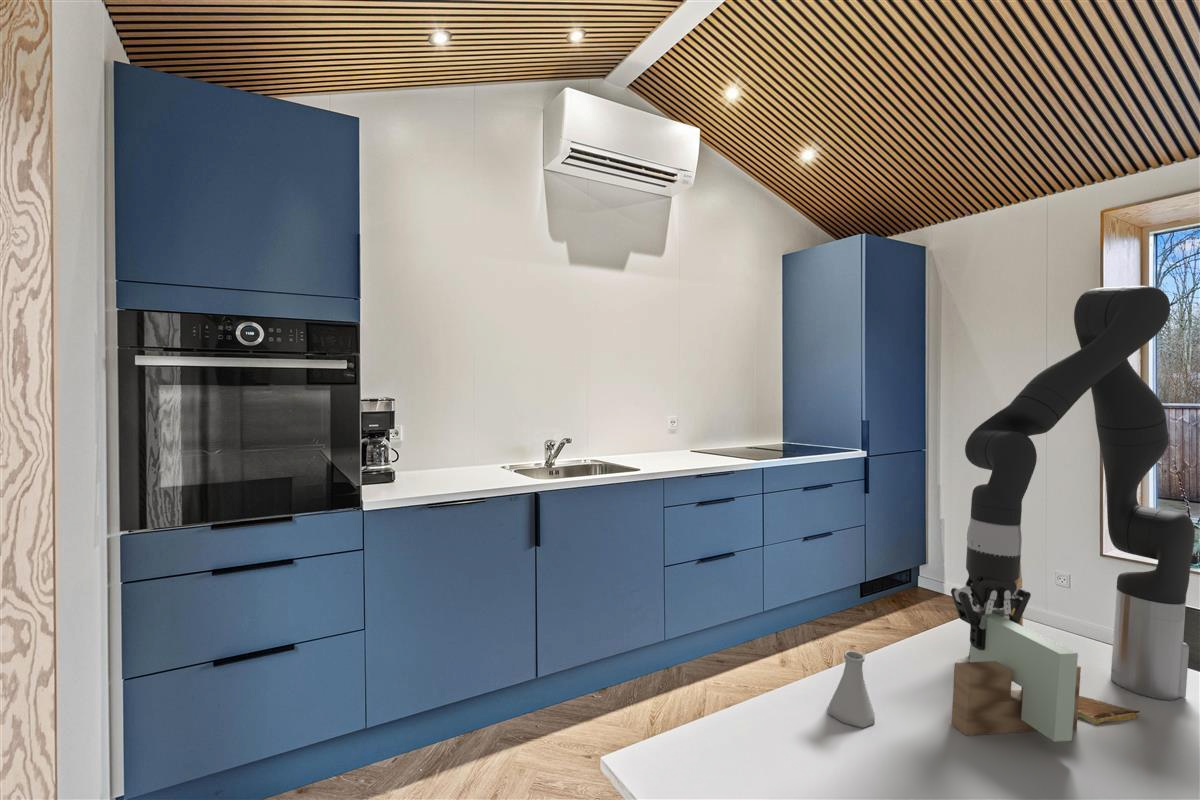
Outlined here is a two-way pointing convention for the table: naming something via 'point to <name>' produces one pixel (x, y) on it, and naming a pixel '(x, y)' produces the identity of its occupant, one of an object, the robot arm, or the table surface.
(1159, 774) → the table surface
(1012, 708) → the walnut board
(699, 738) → the table surface
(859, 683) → the flask
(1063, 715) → the sage board
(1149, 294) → the robot arm
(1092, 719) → the shard
